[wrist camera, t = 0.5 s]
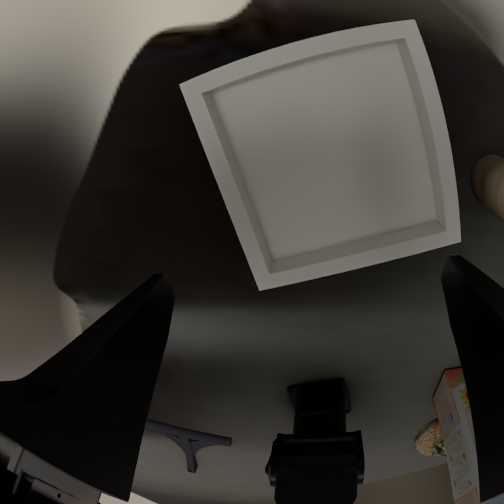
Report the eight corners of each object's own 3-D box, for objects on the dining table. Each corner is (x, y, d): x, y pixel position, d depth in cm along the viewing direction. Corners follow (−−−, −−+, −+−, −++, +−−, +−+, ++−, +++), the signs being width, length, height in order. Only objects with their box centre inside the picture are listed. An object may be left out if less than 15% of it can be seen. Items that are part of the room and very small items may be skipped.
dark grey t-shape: (159, 453, 50) (155, 464, 48) (142, 413, 43) (136, 427, 41) (233, 469, 48) (230, 482, 46) (232, 433, 41) (229, 449, 39)
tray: (446, 226, 23) (461, 241, 20) (264, 271, 27) (259, 290, 24) (401, 28, 16) (414, 19, 14) (193, 85, 21) (179, 84, 18)
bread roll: (491, 414, 33) (495, 441, 29) (441, 443, 39) (442, 468, 35) (451, 400, 32) (455, 432, 28) (398, 433, 39) (397, 461, 35)
